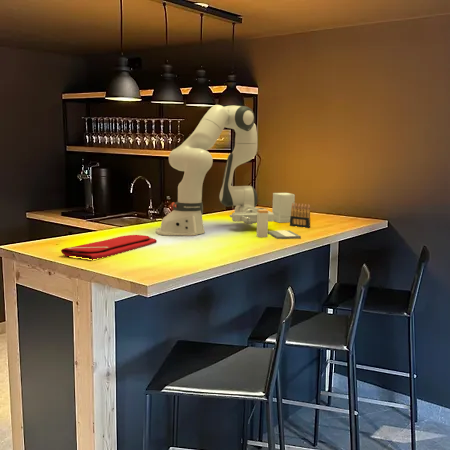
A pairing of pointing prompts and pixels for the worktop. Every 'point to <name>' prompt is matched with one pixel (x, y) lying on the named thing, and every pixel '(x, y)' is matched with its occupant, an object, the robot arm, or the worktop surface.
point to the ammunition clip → (300, 216)
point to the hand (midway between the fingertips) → (257, 219)
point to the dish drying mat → (109, 246)
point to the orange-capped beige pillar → (262, 223)
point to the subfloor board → (284, 234)
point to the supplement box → (282, 206)
